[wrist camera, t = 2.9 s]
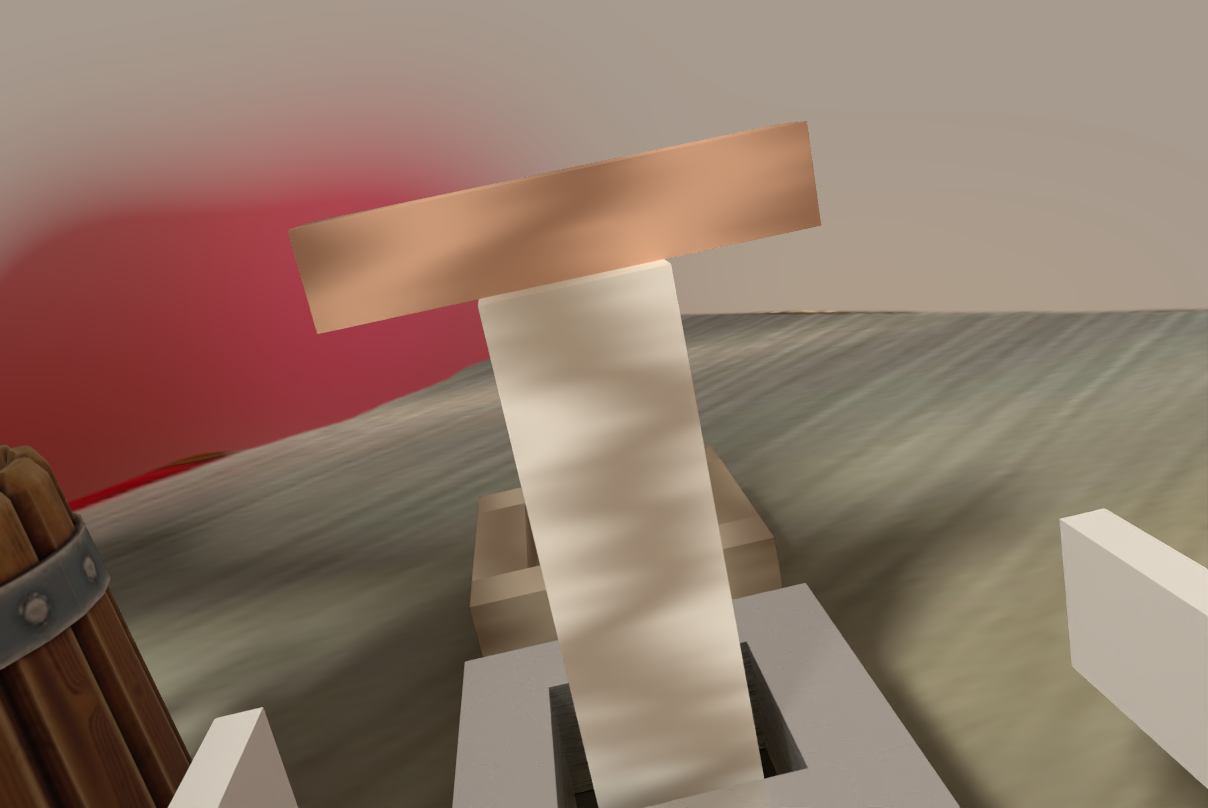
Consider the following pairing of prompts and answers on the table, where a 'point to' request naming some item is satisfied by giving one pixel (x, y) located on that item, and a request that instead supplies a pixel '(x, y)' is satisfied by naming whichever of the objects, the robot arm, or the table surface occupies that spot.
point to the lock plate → (780, 712)
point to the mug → (71, 664)
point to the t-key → (600, 417)
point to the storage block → (515, 581)
